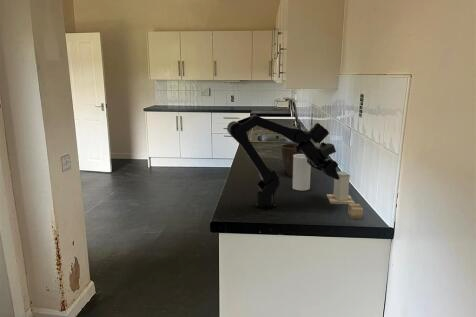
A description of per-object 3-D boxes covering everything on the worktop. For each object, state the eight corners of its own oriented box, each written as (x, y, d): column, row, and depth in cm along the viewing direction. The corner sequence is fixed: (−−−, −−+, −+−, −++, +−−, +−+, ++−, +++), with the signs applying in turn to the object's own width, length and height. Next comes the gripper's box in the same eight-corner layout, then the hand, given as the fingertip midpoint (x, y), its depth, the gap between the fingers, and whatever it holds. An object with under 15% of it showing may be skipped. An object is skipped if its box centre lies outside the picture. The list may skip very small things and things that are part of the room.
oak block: (362, 219, 134) (363, 209, 133) (351, 219, 134) (352, 209, 133) (358, 213, 140) (359, 203, 139) (348, 213, 140) (348, 203, 139)
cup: (300, 184, 176) (301, 153, 173) (313, 188, 170) (314, 155, 167) (289, 187, 171) (289, 155, 168) (301, 191, 165) (302, 157, 162)
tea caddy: (339, 200, 151) (340, 175, 149) (333, 196, 157) (334, 171, 154) (348, 199, 152) (349, 174, 150) (341, 195, 157) (343, 171, 155)
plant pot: (285, 170, 204) (286, 142, 200) (311, 173, 198) (312, 144, 194) (276, 176, 191) (277, 147, 187) (303, 179, 185) (304, 149, 181)
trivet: (354, 204, 149) (354, 202, 149) (330, 203, 150) (330, 201, 150) (349, 196, 159) (349, 194, 159) (326, 196, 160) (326, 194, 160)
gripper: (335, 141, 137) (358, 167, 142) (315, 134, 155) (336, 157, 160) (315, 161, 137) (338, 187, 142) (297, 152, 155) (318, 175, 160)
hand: (333, 175), depth 151 cm, fingers open, 9 cm apart
